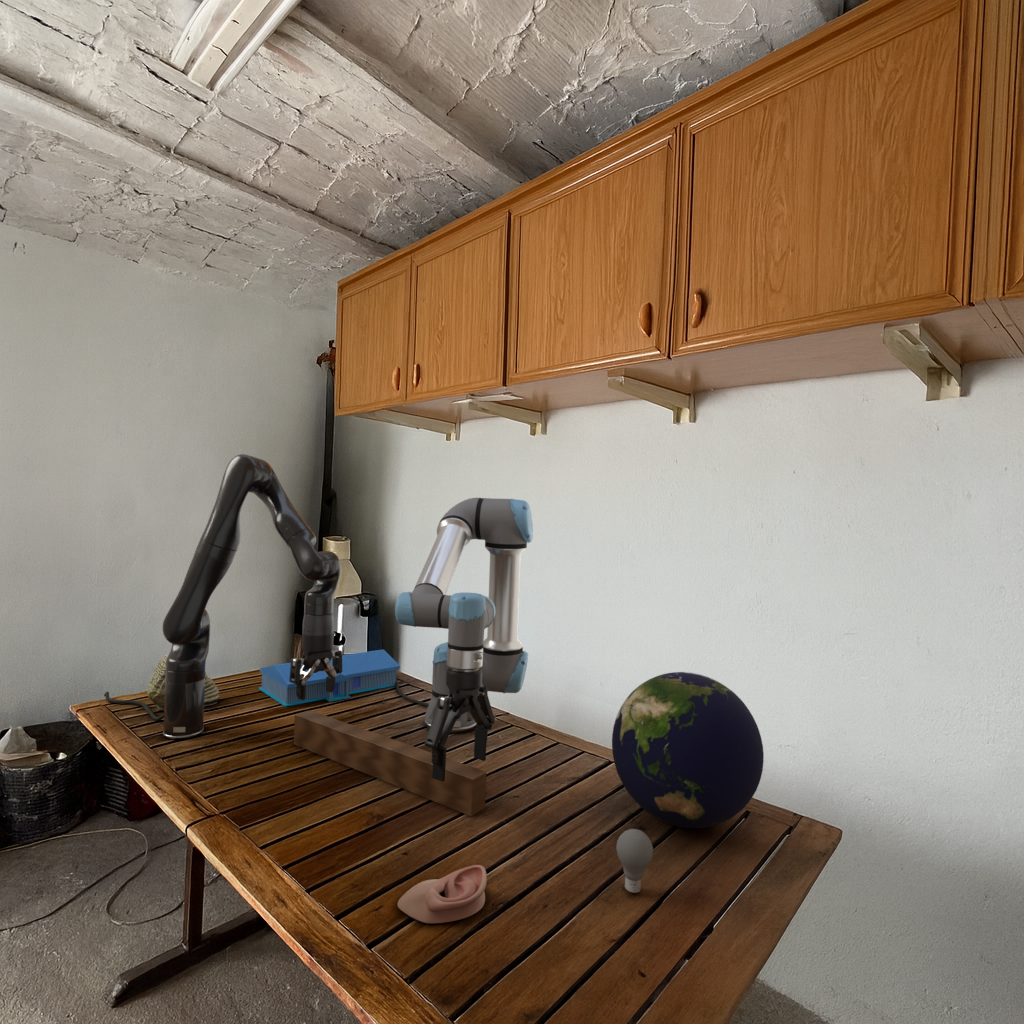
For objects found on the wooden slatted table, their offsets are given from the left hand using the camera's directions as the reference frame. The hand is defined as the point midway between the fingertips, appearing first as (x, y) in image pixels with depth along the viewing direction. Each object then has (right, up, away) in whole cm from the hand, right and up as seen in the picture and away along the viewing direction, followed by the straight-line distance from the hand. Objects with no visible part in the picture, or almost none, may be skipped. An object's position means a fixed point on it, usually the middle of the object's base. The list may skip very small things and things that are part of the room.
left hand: (316, 695), depth 159 cm
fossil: (-47, -11, +26) cm, 55 cm away
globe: (+84, -18, -29) cm, 91 cm away
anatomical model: (+38, -16, -58) cm, 72 cm away
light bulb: (+69, -17, -53) cm, 89 cm away
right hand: (+38, -8, -26) cm, 47 cm away
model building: (-10, -12, +49) cm, 51 cm away
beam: (+19, -14, -13) cm, 27 cm away
